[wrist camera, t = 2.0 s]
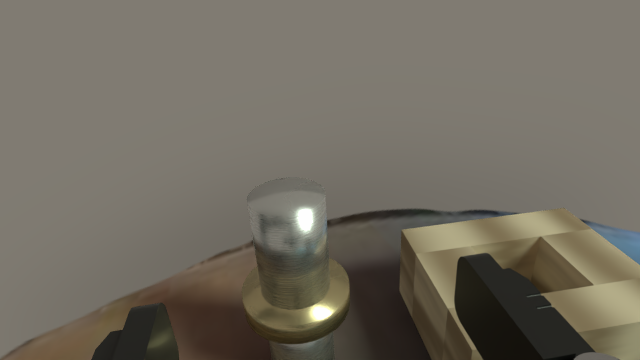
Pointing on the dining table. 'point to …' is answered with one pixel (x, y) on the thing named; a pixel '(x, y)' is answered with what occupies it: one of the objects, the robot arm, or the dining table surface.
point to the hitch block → (531, 262)
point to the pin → (294, 272)
